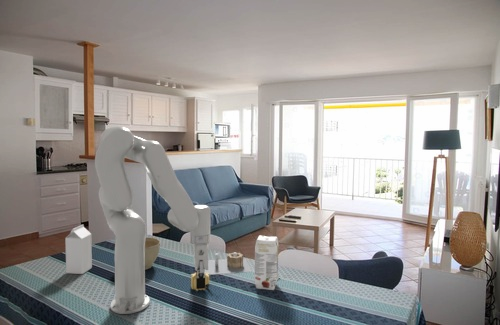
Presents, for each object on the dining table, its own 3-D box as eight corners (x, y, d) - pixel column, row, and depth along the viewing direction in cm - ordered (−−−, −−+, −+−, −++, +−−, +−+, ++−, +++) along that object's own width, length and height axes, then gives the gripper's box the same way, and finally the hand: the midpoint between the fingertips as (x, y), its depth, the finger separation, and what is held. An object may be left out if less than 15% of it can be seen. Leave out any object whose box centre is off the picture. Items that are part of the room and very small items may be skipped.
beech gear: (245, 266, 146) (246, 256, 146) (232, 269, 142) (232, 259, 142) (237, 261, 151) (237, 251, 151) (224, 264, 148) (224, 254, 147)
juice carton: (276, 291, 126) (277, 241, 124) (253, 289, 127) (254, 240, 126) (278, 283, 133) (279, 235, 132) (256, 281, 135) (257, 234, 133)
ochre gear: (209, 289, 126) (209, 278, 126) (191, 291, 125) (191, 279, 125) (208, 282, 133) (208, 271, 133) (190, 283, 132) (190, 272, 131)
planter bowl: (154, 274, 139) (153, 249, 138) (115, 273, 140) (114, 248, 139) (164, 260, 155) (164, 237, 154) (129, 259, 156) (129, 236, 155)
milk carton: (92, 267, 145) (91, 224, 144) (82, 274, 138) (81, 229, 137) (76, 267, 146) (75, 223, 145) (66, 273, 139) (64, 228, 138)
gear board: (252, 275, 140) (252, 258, 140) (204, 278, 136) (204, 261, 136) (245, 261, 156) (245, 246, 155) (201, 263, 152) (201, 248, 151)
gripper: (212, 244, 120) (212, 293, 121) (208, 231, 137) (208, 274, 138) (191, 246, 118) (191, 295, 120) (189, 232, 135) (189, 275, 137)
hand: (200, 283), depth 129 cm, fingers closed on ochre gear, 6 cm apart
